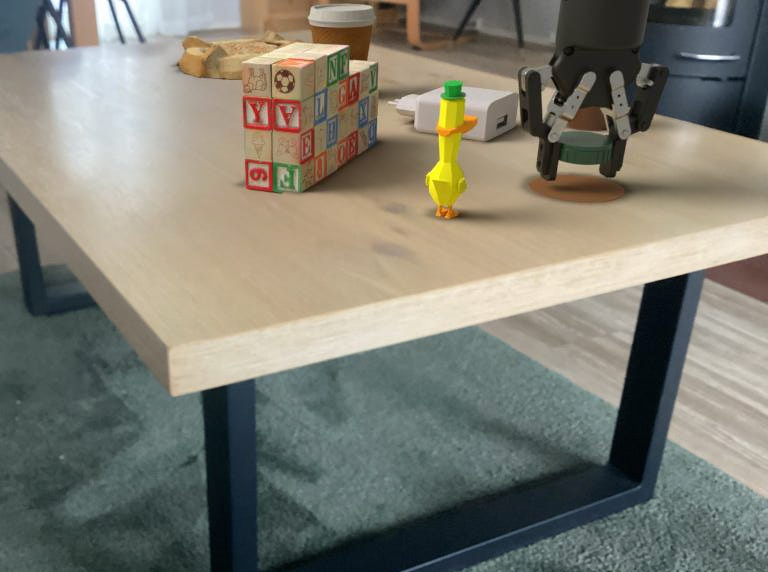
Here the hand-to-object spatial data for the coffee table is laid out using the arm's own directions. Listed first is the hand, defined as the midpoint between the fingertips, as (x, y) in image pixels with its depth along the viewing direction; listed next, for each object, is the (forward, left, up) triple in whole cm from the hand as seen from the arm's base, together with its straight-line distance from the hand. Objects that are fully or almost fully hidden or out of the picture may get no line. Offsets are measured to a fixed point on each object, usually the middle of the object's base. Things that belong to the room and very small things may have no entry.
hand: (577, 176), depth 84 cm
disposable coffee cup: (+36, -35, -2) cm, 50 cm away
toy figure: (+10, +12, -2) cm, 16 cm away
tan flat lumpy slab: (+59, -53, -2) cm, 79 cm away
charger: (+18, -21, -2) cm, 27 cm away
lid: (0, 0, +3) cm, 3 cm away
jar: (+1, -27, -1) cm, 27 cm away
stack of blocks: (+27, 0, -2) cm, 27 cm away
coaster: (0, 0, -1) cm, 1 cm away
